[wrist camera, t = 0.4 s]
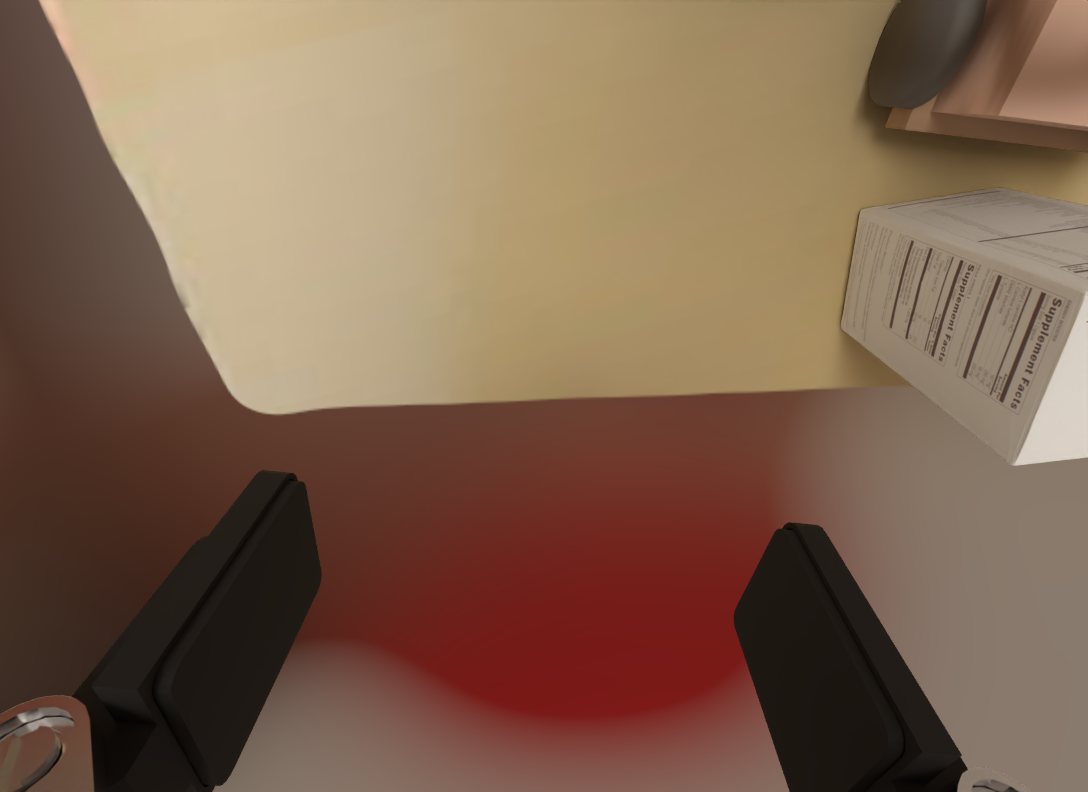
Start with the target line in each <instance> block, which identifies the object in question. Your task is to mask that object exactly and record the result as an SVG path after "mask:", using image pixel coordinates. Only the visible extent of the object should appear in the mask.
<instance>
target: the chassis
mask: <svg viewBox="0 0 1088 792" xmlns="http://www.w3.org/2000/svg"><path fill="white" fill-rule="evenodd" d="M869 92H870V96H871V98H872V100H873V102H874V103H875V104H877V105H880V106H886V107H893V108H892V111H891V113H890V116H889V118H888V121H887V123H886V125H885V127H886V128H894V129H902V130H910V131H918V132H927V133H935V134H943V135H951V136H959V137H967V138H976V139H984V140H992V141H1000V142H1008V143H1017V144H1025V145H1033V146H1041V147H1049V148H1057V149H1066V150H1074V151H1082V152H1088V0H901V2H900V3H899V4H898V6H897V8H896V9H895V11H894V12H893V14H892V16H891V17H890V19H889V21H888V23H887V25H886V27H885V29H884V31H883V33H882V35H881V37H880V40H879V42H878V45H877V47H876V50H875V53H874V56H873V60H872V64H871V68H870V75H869Z"/></svg>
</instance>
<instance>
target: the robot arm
mask: <svg viewBox="0 0 1088 792" xmlns="http://www.w3.org/2000/svg"><path fill="white" fill-rule="evenodd" d="M321 575H322V574H321V567H320V561H319V556H318V551H317V545H316V540H315V534H314V528H313V523H312V518H311V512H310V507H309V501H308V497H307V490H306V486H305V484H304V482H300V481H298V480H297V477H296V475H295V474H294V473H286V472H276V471H265V470H262V471H260V472H258V473H257V474H256V475H255V477H254V478H253V479H252V481H251V482H250V483H249V484H248V486H247V487H246V488H245V489H244V491H243V492H242V493H241V495H240V496H239V497H238V498H237V500H236V501H235V502H234V504H233V505H232V506H231V507H230V509H229V510H228V511H227V513H226V514H225V515H224V516H223V518H222V519H221V520H220V522H219V523H218V524H217V525H216V527H215V528H214V529H213V531H212V532H211V533H210V534H209V536H206V537H203V538H201V539H200V540H198V541H197V542H196V543H195V544H194V545H193V546H192V547H191V548H190V549H189V550H188V552H187V553H186V554H185V555H184V557H183V558H182V559H181V560H180V562H179V563H178V564H177V566H176V567H175V568H174V569H173V570H172V572H171V573H170V574H169V575H168V577H167V578H166V579H165V580H164V582H163V583H162V584H161V585H160V587H159V588H158V589H157V590H156V592H155V593H154V594H153V595H152V597H151V598H150V599H149V600H148V602H147V603H146V604H145V605H144V607H143V608H142V609H141V610H140V612H139V613H138V614H137V616H136V617H135V618H134V619H133V621H132V622H131V623H130V624H129V626H128V627H127V628H126V629H125V631H124V632H123V633H122V634H121V636H120V637H119V638H118V640H117V641H116V642H115V643H114V644H113V646H112V647H111V648H110V649H109V651H108V652H107V653H106V654H105V656H104V657H103V658H102V659H101V661H100V662H99V663H98V665H97V666H96V667H95V668H94V670H93V671H92V672H91V673H90V674H89V676H88V677H87V678H86V679H85V681H84V682H83V683H82V684H81V686H80V687H79V688H78V690H77V691H76V692H75V693H74V695H73V696H72V697H67V696H62V695H55V696H48V697H41V698H37V699H34V700H31V701H28V702H25V703H23V704H20V705H17V706H15V707H13V708H11V709H9V710H8V711H6V712H4V713H2V714H0V792H212V791H213V789H214V787H215V785H216V786H220V785H223V784H224V783H225V782H226V781H227V779H228V778H229V776H230V775H231V773H232V771H233V769H234V767H235V765H236V763H237V761H238V759H239V756H240V754H241V752H242V750H243V748H244V746H245V743H246V742H247V740H248V737H249V735H250V733H251V731H252V729H253V727H254V725H255V723H256V721H257V718H258V716H259V714H260V712H261V710H262V708H263V706H264V704H265V702H266V699H267V697H268V695H269V693H270V691H271V689H272V687H273V685H274V682H275V680H276V678H277V676H278V674H279V672H280V670H281V668H282V665H283V663H284V661H285V659H286V657H287V655H288V653H289V651H290V649H291V646H292V645H293V642H294V640H295V638H296V636H297V634H298V632H299V630H300V628H301V625H302V623H303V621H304V619H305V617H306V615H307V613H308V611H309V609H310V607H311V604H312V602H313V600H314V598H315V596H316V594H317V591H318V589H319V586H320V582H321ZM734 625H735V629H736V632H737V635H738V638H739V641H740V644H741V647H742V650H743V653H744V656H745V659H746V662H747V665H748V668H749V671H750V674H751V677H752V680H753V683H754V686H755V689H756V692H757V695H758V698H759V701H760V704H761V707H762V710H763V713H764V716H765V719H766V722H767V725H768V728H769V731H770V734H771V737H772V740H773V743H774V746H775V749H776V752H777V755H778V758H779V761H780V764H781V767H782V770H783V773H784V776H785V779H786V782H787V785H788V788H789V791H790V792H1031V791H1030V790H1029V789H1027V788H1026V787H1025V786H1023V785H1022V784H1021V783H1019V782H1018V781H1016V780H1014V779H1012V778H1010V777H1009V776H1007V775H1005V774H1003V773H1001V772H998V771H995V770H991V769H988V768H985V767H981V768H970V769H969V770H968V769H967V767H966V765H965V764H964V762H963V761H962V759H961V757H960V756H961V753H960V751H959V750H958V748H957V747H956V745H955V743H954V742H953V740H952V738H951V737H950V735H949V734H948V732H947V730H946V729H945V727H944V726H943V724H942V722H941V720H940V719H939V717H938V716H937V714H936V712H935V711H934V709H933V707H932V706H931V704H930V702H929V701H928V699H927V697H926V696H925V694H924V693H923V691H922V689H921V688H920V686H919V684H918V683H917V681H916V679H915V678H914V676H913V675H912V673H911V671H910V670H909V668H908V666H907V665H906V663H905V661H904V660H903V658H902V657H901V655H900V653H899V652H898V650H897V648H896V647H895V645H894V643H893V642H892V640H891V639H890V637H889V635H888V634H887V632H886V630H885V629H884V627H883V625H882V624H881V622H880V621H879V619H878V618H877V616H876V614H875V612H874V611H873V609H872V608H871V606H870V604H869V603H868V601H867V599H866V598H865V596H864V594H863V593H862V591H861V590H860V588H859V586H858V585H857V583H856V581H855V580H854V578H853V576H852V575H851V573H850V571H849V570H848V568H847V567H846V566H845V563H844V562H843V560H842V558H841V557H840V555H839V554H838V552H837V550H836V549H835V547H834V545H833V544H832V542H831V541H830V539H829V537H828V536H827V534H826V532H825V531H824V530H823V528H822V527H820V526H818V525H810V524H801V523H787V524H785V525H784V527H783V528H782V529H778V530H776V531H775V533H774V535H773V537H772V538H771V540H770V543H769V545H768V546H767V548H766V550H765V552H764V554H763V556H762V558H761V560H760V562H759V564H758V566H757V568H756V570H755V572H754V574H753V576H752V578H751V580H750V581H749V584H748V585H747V587H746V589H745V591H744V593H743V595H742V597H741V599H740V601H739V603H738V605H737V607H736V609H735V612H734Z"/></svg>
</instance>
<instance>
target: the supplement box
mask: <svg viewBox="0 0 1088 792" xmlns="http://www.w3.org/2000/svg"><path fill="white" fill-rule="evenodd" d="M841 329H842V330H843V331H845V332H846V333H847V334H848V335H850V336H851V337H852V338H853V339H855V340H856V341H857V342H858V343H860V344H861V345H862V346H863V347H865V348H866V349H867V350H868V351H870V352H871V353H872V354H873V355H875V356H876V357H877V358H878V359H880V360H881V361H882V362H883V363H885V364H886V365H887V366H888V367H890V368H891V369H892V370H894V371H895V372H896V373H897V374H898V375H900V376H901V377H902V378H903V379H905V380H906V381H907V382H908V383H910V384H911V385H912V386H913V387H915V388H916V389H917V390H919V391H920V392H921V393H922V394H924V395H925V396H926V397H927V398H929V399H930V400H931V401H932V402H934V403H935V404H936V405H937V406H938V407H940V408H941V409H942V410H943V411H945V412H946V413H947V414H948V415H950V416H951V417H952V418H953V419H955V420H956V421H957V422H958V423H960V424H961V425H962V426H963V427H965V428H966V429H967V430H968V431H970V432H971V433H972V434H973V435H975V436H976V437H977V438H978V439H979V440H981V441H982V442H983V443H984V444H986V445H987V446H988V447H989V448H991V449H992V450H993V451H994V452H995V453H997V454H998V455H999V456H1000V457H1002V458H1003V459H1004V460H1005V461H1007V462H1008V463H1009V464H1011V465H1013V466H1017V465H1025V464H1033V463H1042V462H1051V461H1059V460H1068V459H1077V458H1086V457H1088V206H1087V205H1082V204H1077V203H1072V202H1067V201H1062V200H1058V199H1053V198H1048V197H1043V196H1038V195H1034V194H1029V193H1024V192H1020V191H1015V190H1011V189H1006V188H1001V187H999V188H991V189H984V190H977V191H971V192H964V193H958V194H952V195H946V196H940V197H934V198H928V199H921V200H915V201H909V202H902V203H896V204H889V205H883V206H877V207H871V208H865V209H862V210H861V211H860V215H859V221H858V227H857V233H856V239H855V245H854V250H853V256H852V262H851V268H850V274H849V280H848V286H847V292H846V298H845V304H844V310H843V316H842V321H841Z"/></svg>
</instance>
